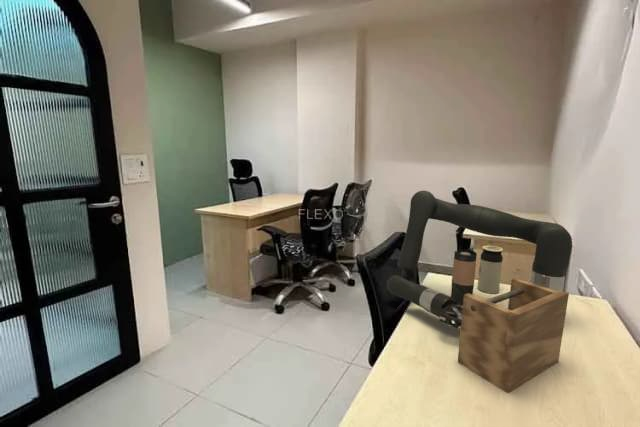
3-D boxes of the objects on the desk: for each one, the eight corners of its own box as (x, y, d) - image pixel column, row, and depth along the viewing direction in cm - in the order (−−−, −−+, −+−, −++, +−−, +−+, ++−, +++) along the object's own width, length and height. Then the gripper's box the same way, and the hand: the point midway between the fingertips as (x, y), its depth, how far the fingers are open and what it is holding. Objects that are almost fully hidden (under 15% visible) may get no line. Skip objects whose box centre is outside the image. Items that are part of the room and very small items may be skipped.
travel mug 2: (501, 289, 142) (505, 247, 139) (495, 295, 136) (500, 252, 133) (480, 284, 147) (485, 244, 144) (474, 290, 141) (479, 248, 138)
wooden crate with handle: (457, 362, 93) (464, 292, 89) (508, 337, 105) (515, 276, 102) (508, 393, 81) (518, 315, 78) (558, 361, 94) (568, 293, 90)
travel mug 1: (474, 309, 124) (479, 256, 121) (451, 306, 126) (456, 254, 122) (469, 300, 132) (474, 250, 128) (448, 298, 133) (452, 248, 130)
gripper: (422, 297, 108) (469, 320, 94) (452, 288, 116) (500, 308, 102) (420, 319, 110) (467, 345, 96) (450, 309, 117) (497, 331, 103)
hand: (484, 326), depth 99 cm, fingers closed on supplement bottle, 6 cm apart
